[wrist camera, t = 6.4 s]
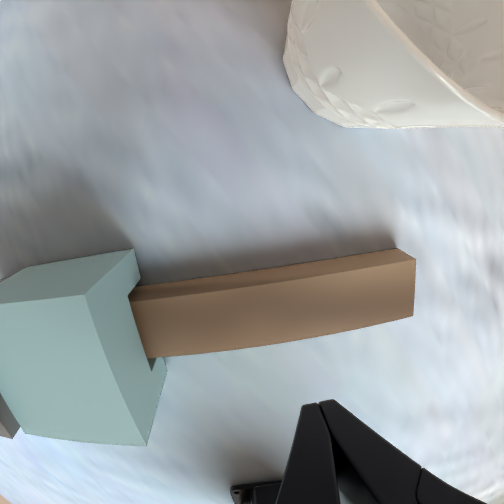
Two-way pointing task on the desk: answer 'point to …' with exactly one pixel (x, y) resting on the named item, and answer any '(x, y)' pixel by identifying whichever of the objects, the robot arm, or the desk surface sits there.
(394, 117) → the white cup
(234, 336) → the rail
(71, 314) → the block
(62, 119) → the desk surface
